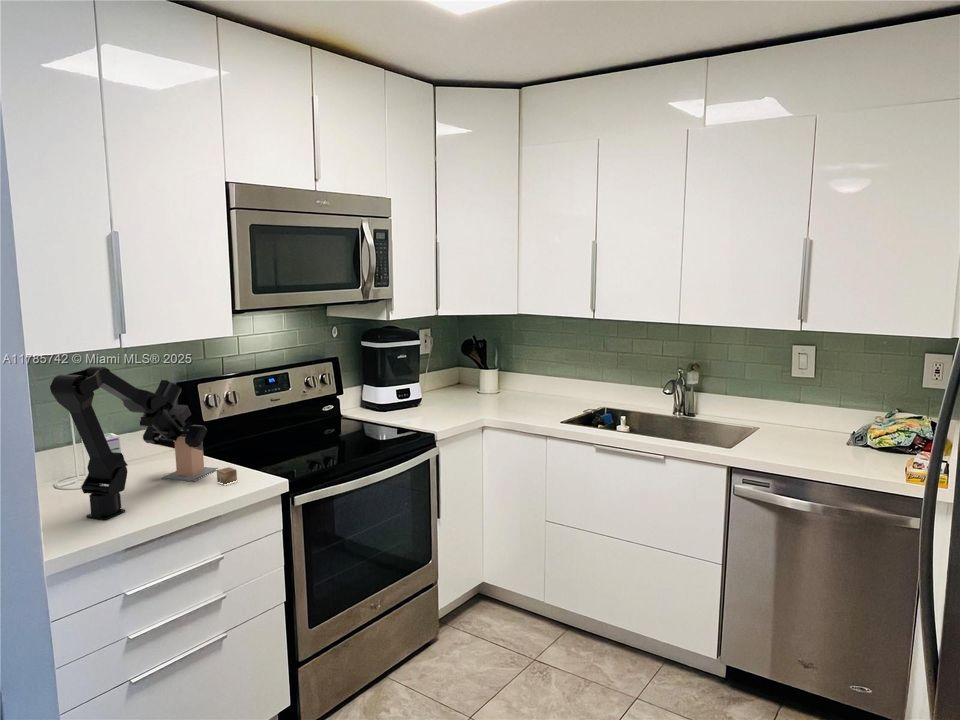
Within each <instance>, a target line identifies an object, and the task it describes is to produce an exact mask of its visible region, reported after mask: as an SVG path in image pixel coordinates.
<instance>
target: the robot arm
mask: <svg viewBox="0 0 960 720" xmlns="http://www.w3.org/2000/svg"><path fill="white" fill-rule="evenodd" d="M100 388H101V389H103V390H104V391H105V392H108V393H109V394H111V395H113V396H114V397H116V398H118V399H119V400H120V401H122V404H123V406H124V407H125V408H126V409H127V410H128V411H129V412H131V413H133V414H134V413H136V414H138V413H139V414H142V416H140V420H139V426H140V427H146V429H145V431H144V433H143V435H142V440H143V441H144V442H145V443H146V444H152V445H154V446H155V445H156V446H161V447H165V448H169V449H170V448H171V449H174V450H175V442H174V441H176V440H177V438H178V437H185V443H186V444H187V445H189V447H191V448H195V449H198V450H202V449H203V450H204V446H203V444H202V442H203V441H204V439H205V437H206V435H207V433H208V429H207V428H206V426H205V425H201V424H191V425H190V427H189V428H185V426H186V424H187V423H186V422H185V421H186V420H187V419H188V418H189V417H190V416H192V412H191V410H190V409H189V406H188V405H187V404H176V402H177V400H178V398H179V396H180V394H181V392H182V387H181V386H179V385H178V384H175V383H174V382H170V381H169V380H168V379H161V381H160V382H159V385H158V387H157V389H156V391H155V392H152V391H150V390H146V389H141V388H137V387H136V386H134V385H132V384H131V383H129V382H127V381H126V380H124V379H123V378H121V377H120V376H118V375H116V374H115V373H114V372H112V371H111V370H110V369H109V368H107V367H105V366H90V367H87V368H84V369H81V370H78V371H74V372H70V373H66V374H64V373H63V374H58V375H56V376H55V377H54V378H53V379H52V382H51V383H50V386H49V389H50V393H51V395H52V396H53V398H54V399H55V400H56V402H57V403H58V404H59V405H60V406H62V407H63V408H64V409H66V410H67V412H69V413H70V416H71V418H72V421H73V422H74V425H75V427H76V430H77V431H78V434H79V436H80V439H81V441H82V444H83V445H84V448H85V450H86V452H87V454H88V456H89V461H88V464H87V471H88V474H87V476H86V478H85V479H84V481H83V482H82V485H81V486H80V489H81V490H82V493H83V494H89V505H90V513H89V514H87V515H86V518H89V519H96V520H101V521H107V520H109V519H112V518H113V517H116V516H118V515H120V514H123V513H125V512H126V509H123V508H122V500H121V499H122V497H121V492H123V491H125V487H126V484H127V478H128V465H129V464H128V463H127V462H126V461H125V457H124V454H123V453H122V452H121V453H116V452H112V451H111V450H110V447H109V445H108V443H107V440H106V438H105V436H104V434H105V433H104V431H103V429H102V426H101V423H100V421H99V420H98V417H97V415H96V411H95V410H94V407H93V405H92V403H93V399H94V396H95V392H94V391H96V390H99V389H100ZM175 404H176V405H175ZM100 484H108V485H109V486H102V485H100Z"/></svg>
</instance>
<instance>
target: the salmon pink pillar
mask: <svg viewBox="0 0 960 720" xmlns="http://www.w3.org/2000/svg"><path fill="white" fill-rule="evenodd" d="M174 442H175V449H174V452H175V453H174V454H175V467H176V468H175V469H176V470H175V471H177V475H185V476H194V475H196V474H198V473H200V472H202V471H204V467H205V463H204V462H205V461H204V448H203V449H202V450H198V449H195V448H191V447H189V445H187V444H186V443H185V437H178V438H177V440H176V441H174ZM203 443H204V442H203V441H202V444H203Z"/></svg>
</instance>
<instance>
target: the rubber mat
mask: <svg viewBox="0 0 960 720" xmlns="http://www.w3.org/2000/svg"><path fill="white" fill-rule="evenodd" d="M216 469H218V470H219V467H207V466H204V471H202V472H200V473H198V474H196V475H194V476H185V475H177V470H175V471H173V472H171V473H169V474H166V475H164V476H162V477H161V480H167V479H170V480H169V481H179V480H183V481H182V482H191V481H194V482H196V481H198V480H200V479H202V478H204V477H206V476H208V475H210V474H212V473H214V472H216V471H217V470H216ZM215 470H216V471H215ZM213 471H214V472H213ZM211 472H212V473H211ZM209 473H210V474H209ZM207 474H208V475H207ZM205 475H206V476H205ZM203 476H204V477H203ZM201 477H202V478H201ZM199 478H200V479H199ZM197 479H198V480H197ZM195 480H196V481H195Z"/></svg>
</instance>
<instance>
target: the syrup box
mask: <svg viewBox="0 0 960 720" xmlns="http://www.w3.org/2000/svg"><path fill="white" fill-rule="evenodd" d="M104 436H105V438H106V440H107V443H108V445H109V447H110V450H111V451H112V452H116V453H122V451H121V449H122V448H121V441H120V439H121V438H120V435H117V434H115V433H113V432H109V433H108V432H106V433H104ZM100 486H109V485H108V484H100Z"/></svg>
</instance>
